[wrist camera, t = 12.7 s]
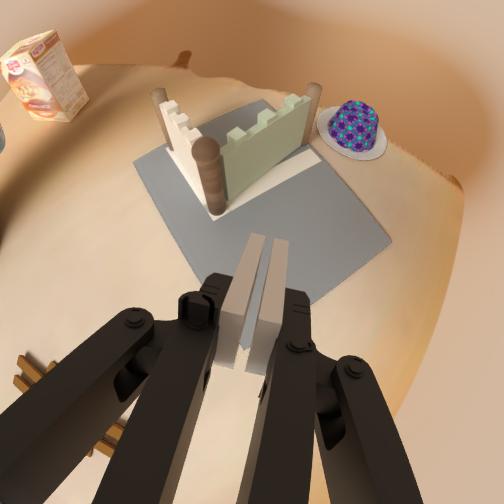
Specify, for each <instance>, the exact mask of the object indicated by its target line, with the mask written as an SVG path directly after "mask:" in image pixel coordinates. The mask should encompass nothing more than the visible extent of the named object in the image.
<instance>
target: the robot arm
mask: <svg viewBox="0 0 504 504" xmlns="http://www.w3.org/2000/svg"><path fill="white" fill-rule="evenodd" d="M4 147H5V135H4V132H3V129H2V127H1V124H0V153H1V152H2V151H3V149H4ZM264 241H265V236H264V235H260V234H255V233H251V235H250V237H249V240H248V242H247V245H246V247H245V250H244V252H243V255H242V257H241V260H240V262H239V265H238V267H237V270H236V272H235V275H234V277H233V276H229V275H224V274H220V273H216V272H214V273H212V274H211V275H209V276H208V277H206V279H205V281H204V283H203V285H202V286H201V288H200V291H193V292H187V293H185V294H183V295H182V296H181V297H180V298H179V300H178V319H176V320H171V321H162V320H154V318H153V316H152V314H151V313H150V312H148V311H147V310H145V309H142V308H135V307H132V308H128V309H125V310H123V311H121V312H120V313H118V314H117V315H116V316H115V317H113V318H112V319H111V320H110V321H108V322H107V323H106V324H105V325H104V326H102V327H101V328H100V329H99V330H97V331H96V332H95V333H94V334H93V335H91V336H90V337H89V338H88V339H87V340H85V341H84V342H83V343H82V344H80V345H79V346H78V347H77V348H76V349H74V350H73V351H72V352H71V353H70V354H69V355H67V356H66V357H65V358H64V359H63V360H61V361H60V362H59V363H58V364H57V365H56V366H54V367H53V368H52V369H51V370H50V371H49V372H47V373H46V374H45V375H44V376H43V377H42V378H41V379H39V380H38V381H37V382H36V383H35V384H34V385H33V386H31V387H30V388H29V389H28V390H27V391H26V392H25V393H24V394H22V395H21V396H20V397H19V398H18V399H17V400H16V401H15V402H14V403H13V404H11V405H10V406H9V407H8V408H7V409H6V410H5V411H4V412H3V413H2V414H1V415H0V504H43V503H44V502H45V501H46V500H47V499H48V497H49V496H50V495H51V494H52V493H53V492H54V491H55V490H56V489H57V487H58V486H59V485H60V484H61V483H62V482H63V481H64V480H65V478H66V477H67V476H68V475H69V474H70V473H71V472H72V471H73V470H74V468H75V467H76V466H77V465H78V464H79V463H80V462H81V461H82V459H83V458H84V457H85V456H86V455H87V454H88V453H89V452H90V450H91V449H92V448H93V447H94V446H95V445H96V444H97V442H98V441H99V440H100V439H101V438H102V437H103V436H104V435H105V433H106V432H107V431H108V430H109V429H110V428H111V427H112V425H113V424H114V423H115V422H116V421H117V420H118V419H119V417H120V416H121V415H122V414H123V413H124V412H125V411H126V410H127V408H128V407H129V406H130V405H131V404H132V403H133V401H134V400H135V399H136V398H137V397H138V396H139V395H140V396H139V398H138V400H137V402H136V404H135V406H134V409H133V411H132V413H131V415H130V417H129V419H128V421H127V424H126V426H125V428H124V430H123V432H122V435H121V437H120V439H119V441H118V444H117V446H116V448H115V450H114V453H113V455H112V457H111V459H110V462H109V464H108V466H107V469H106V471H105V473H104V476H103V478H102V480H101V483H100V485H99V488H98V490H97V492H96V495H95V497H94V500H93V502H92V504H172V503H173V500H174V496H175V493H176V489H177V486H178V482H179V479H180V476H181V472H182V469H183V465H184V462H185V459H186V455H187V452H188V448H189V445H190V442H191V438H192V435H193V431H194V428H195V425H196V421H197V418H198V415H199V411H200V408H201V405H202V401H203V398H204V394H205V391H206V388H207V384H208V381H209V378H210V374H211V366H212V363H213V360H214V363H213V364H215V365H219V366H223V367H227V368H232V369H233V366H234V363H235V359H236V355H237V351H238V348H239V344H240V340H241V336H242V332H243V329H244V325H245V321H246V317H247V313H248V310H249V306H250V302H251V298H252V294H253V290H254V287H255V283H256V279H257V274H258V269H259V265H260V260H261V255H262V251H263V246H264ZM288 247H289V241H287V240H282V239H278V238H274V242H273V247H272V251H271V256H270V260H269V264H268V269H267V273H266V277H265V281H264V286H263V291H262V296H261V300H260V305H259V310H258V315H257V319H256V324H255V329H254V333H253V338H252V342H251V347H250V351H249V356H248V360H247V365H246V369H245V372H249V373H254V374H258V375H263V376H265V373H266V376H265V380H264V383H263V386H262V389H261V391H260V394H259V397H258V398H260V400H259V405H258V410H257V415H256V419H255V424H254V429H253V433H252V438H251V443H250V447H249V452H248V456H247V460H246V465H245V469H244V473H243V478H242V482H241V486H240V490H239V494H238V498H237V502H236V504H308V501H309V491H310V481H311V470H312V458H313V444H314V429H315V433H316V438H317V442H318V447H319V451H320V456H321V460H322V465H323V469H324V474H325V479H326V484H327V488H328V493H329V498H330V503H331V504H423V501H422V498H421V495H420V491H419V489H418V486H417V483H416V480H415V477H414V474H413V471H412V468H411V466H410V463H409V460H408V457H407V454H406V452H405V449H404V446H403V444H402V441H401V439H400V436H399V433H398V431H397V428H396V426H395V424H394V421H393V418H392V416H391V413H390V411H389V409H388V406H387V404H386V401H385V399H384V397H383V394H382V392H381V390H380V387H379V385H378V383H377V380H376V378H375V376H374V374H373V371H372V369H371V367H370V366H369V365H368V363H367V362H365V361H364V360H363V359H361V358H359V357H357V356H351V355H348V356H343V357H341V358H340V359H339V360H338V361H336V360H333V359H331V358H329V357H326V356H325V355H323V354H321V353H320V352H319V351H317V349H316V346H315V343H314V342H313V341H312V339H311V315H310V314H311V313H310V299H309V297H308V296H307V294H306V292H304V291H299V290H295V289H290V288H285V285H286V273H287V260H288ZM140 393H141V394H140Z"/></svg>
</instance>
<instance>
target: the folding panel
mask: <svg viewBox="0 0 504 504" xmlns="http://www.w3.org/2000/svg"><path fill="white" fill-rule="evenodd" d="M321 91H322V87H321V86H320V85H319V84H317V83H309V84H307V89H306V94H305V95H304V96H302V97H298V96H297V95H295V94H291V95H289V96H287V97H285V101H284V107H283V108H282V109H280V110H278V111H277V112H275V113H274V112H272V111H271V110H269V109H268V108H266V109H265V110H263V111H261V112H260V113H258V119H257V124H256V125H254V126H253V127H251V128H250V129H248V130H247V131H245V132H244V131H243V130H241V129H240V128H239V127H236V128H234V129H233V130H231V131H230V132H228V133H227V142H228V143H227V144H226V145H224V146H223V147H222V148H220V154H219V161H220V168H221V175H222V182H223V189H224V196H225V199H226V200H227V201H228V202H229V201H230V200H232V199H233V198H234V197H235V196H237V195H238V194H239V193H240V192H242V191H243V190H244V189H245V188H247V187H248V186H249V185H250V184H252V183H253V182H254V181H255V180H257V179H258V178H259V177H261V176H262V175H263V174H264V173H266V172H267V171H268V170H270V169H271V168H272V167H273V166H275V165H276V164H277V163H279V162H280V161H281V160H283V159H284V158H285V157H287V156H288V155H289V154H291V153H292V152H293V151H295V150H296V149H297V148H299V147H300V146H305V145H307V144H308V141H309V137H310V133H311V130H312V126H313V122H314V118H315V115H316V111H317V107H318V103H319V99H320V95H321Z"/></svg>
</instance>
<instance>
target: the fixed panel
mask: <svg viewBox="0 0 504 504" xmlns="http://www.w3.org/2000/svg"><path fill="white" fill-rule="evenodd" d="M151 97H152V100H153V103H154V106H155V109H156V112H157V115H158V118H159V121H160V124H161V127H162V130H163V133H164V135H165V138H166V141H167V144H168V147H169V149H170V150H171V151H175V153H176V154H177V156H178V157H179V159H180V160H181V162H182V163H183V165H184V166H185V168H186V169H187V170H188V172H189V173H190V175H191V176H192V178H193V179H194V181H195V182H196V184H197V185H198V187H199V188H200V190H201V191H202V193H203V194H204V191H203V187H202V183H201V180H200V176H199V172H198V168H197V164H196V161H195V160H194V159H193V157H192V154H191V149H192V145H193V144H194V142H195V141H196V140H197V139H199V138H201V137H203V136H202V134H201V133H200V132H199V130H198V129H197V128H194V129H191V124H190V120H189V118H188V117H187V116H186V114H185V113H184V112H183V113H181V114H180V111H179V108H178V105H177V104H176V102H175V101H174V100H171V101H169V102H168V98H167V95H166V91H165V89H164V88H157V89H155V90H153V91H152V92H151Z"/></svg>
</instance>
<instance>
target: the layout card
mask: <svg viewBox="0 0 504 504" xmlns="http://www.w3.org/2000/svg"><path fill="white" fill-rule="evenodd" d="M266 108H268V109H269V110H271V111H272V112H274V113H275V112H276V111H275V110H274V109H273V108H272V107H271V106H269V105H268V104H267V103H266V102H265V101H264V100H263V99H261V100H259V101H256V102H254V103H251V104H249V105H246V106H244V107H241V108H239V109H236V110H234V111H232V112H229V113H227V114H225V115H223V116H220V117H218V118H216V119H214V120H212V121H209V122H207V123H205V124H203V125H201V126H199V127H197V129H198V130H199V132H200V133H201V134H202V136H203V137H211V138H213V139H215V140H216V141H217V142H218V144H219V146H220V148H222V147H223V146H224V145H226V144H227V143H228V142H227V133H228V132H230V131H231V130H233V129H234V128H236V127H239V128H240V129H241V130H243V131H244V132H245V131H247V130H248V129H250V128H251V127H253V126H254V125H256V124H257V119H258V113H260V112H261V111H263V110H265V109H266ZM133 164H134V166H135V168H136V170H137V172H138V174H139V176H140V177H141V179H142V181H143V183H144V185H145V187H146V189H147V191H148V193H149V194H150V196H151V198H152V200H153V202H154V204H155V205H156V207H157V209H158V211H159V213H160V214H161V216H162V218H163V220H164V222H165V223H166V225H167V227H168V229H169V230H170V232H171V234H172V236H173V237H174V239H175V241H176V243H177V244H178V246H179V248H180V250H181V251H182V253H183V255H184V256H185V258H186V260H187V261H188V263H189V265H190V266H191V268H192V270H193V271H194V273H195V275H196V276H197V278H198V280H199V281H200V283H201V284H202V285H203V283H204V281H205V279H206V277H208V276H209V275H211V274H212V273H214V272H216V273H220V274H224V275H229V276H233V277H234V275H235V272H236V270H237V267H238V265H239V262H240V260H241V257H242V255H243V252H244V250H245V247H246V245H247V242H248V240H249V237H250V235H251V233H255V234H260V235H264V236H265V241H264V246H263V251H262V255H261V260H260V265H259V269H258V274H257V279H256V283H255V287H254V290H253V294H252V298H251V302H250V306H249V310H248V313H247V317H246V321H245V325H244V329H243V332H242V336H241V340H240V345H241V346H242V348H243V349H244V350H245V349H247V348H248V347H250V346H251V342H252V338H253V333H254V329H255V324H256V319H257V315H258V310H259V305H260V300H261V296H262V291H263V286H264V281H265V277H266V273H267V269H268V264H269V260H270V256H271V251H272V247H273V242H274V238H278V239H282V240H287V241H289V247H288V260H287V273H286V285H285V288H290V289H295V290H299V291H304V292H306V294H307V296H308V297H309V299H310V305H311V304H313V303H314V302H315V301H317V300H318V299H320V298H321V297H322V296H324V295H325V294H326V293H328V292H329V291H330V290H332V289H333V288H334V287H336V286H337V285H338V284H340V283H341V282H342V281H344V280H345V279H346V278H348V277H349V276H350V275H351V274H353V273H354V272H355V271H357V270H358V269H359V268H360V267H362V266H363V265H364V264H365V263H367V262H368V261H369V260H370V259H372V258H373V257H374V256H375V255H377V254H378V253H379V252H380V251H381V250H383V249H384V248H385V247H386V246H387V245H389V244H390V243H391V242H392V241H391V240H390V238H389V237H388V236H387V234H386V233H385V232H384V230H383V229H382V228H381V226H380V225H379V224H378V223H377V221H376V220H375V219H374V218H373V216H372V215H371V214H370V212H369V211H368V210H367V209H366V208H365V206H364V205H363V204H362V203H361V201H360V200H359V199H358V198H357V197H356V195H355V194H354V193H353V192H352V191H351V189H350V188H349V187H348V186H347V185H346V184H345V183H344V181H343V180H342V179H341V178H340V177H339V176H338V175H337V173H336V172H335V171H334V170H333V169H332V168H331V167H330V166H329V165H328V164H327V162H326V161H325V160H324V159H323V158H322V157H321V156H320V155H319V154H318V153H317V152H316V151H315V150H314V149H313V148H312V146H311V145H310V144H309V143H308V144H307V145H305V146H300V147H299V148H297V149H296V150H295V151H293V152H292V153H291V154H289V155H288V156H287V157H285V158H284V159H283V160H281V161H280V162H279V163H277V164H276V165H275V166H273V167H272V168H271V169H270V170H268V171H267V172H266V173H264V174H263V175H262V176H261V177H259V178H258V179H257V180H255V181H254V182H253V183H252V184H250V185H249V186H248V187H247V188H245V189H244V190H243V191H242V192H240V193H239V194H238V195H237V196H235V197H234V198H233V199H232V200H230V201H229V202H228V201H227V200H226V199H225V203H226V210H225V212H224V213H223V214H222V215H219V216H214V215H212V214H211V213H210V212H209V209H208V206H207V202H206V198H205V195H204V194H203V193H202V191H201V190H200V188H199V187H198V185H197V184H196V182H195V181H194V179H193V178H192V176H191V175H190V173H189V172H188V170H187V169H186V168H185V166H184V165H183V163H182V162H181V160H180V159H179V157H178V156H177V154H176V153H175V151H171V150H170V149H169V147H168V144H167V143H166V144H164V145H162V146H160V147H158V148H156V149H155V150H153V151H151V152H149V153H148V154H146V155H144V156H142V157H141V158H139V159H137V160H136V161H134V162H133Z"/></svg>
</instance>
